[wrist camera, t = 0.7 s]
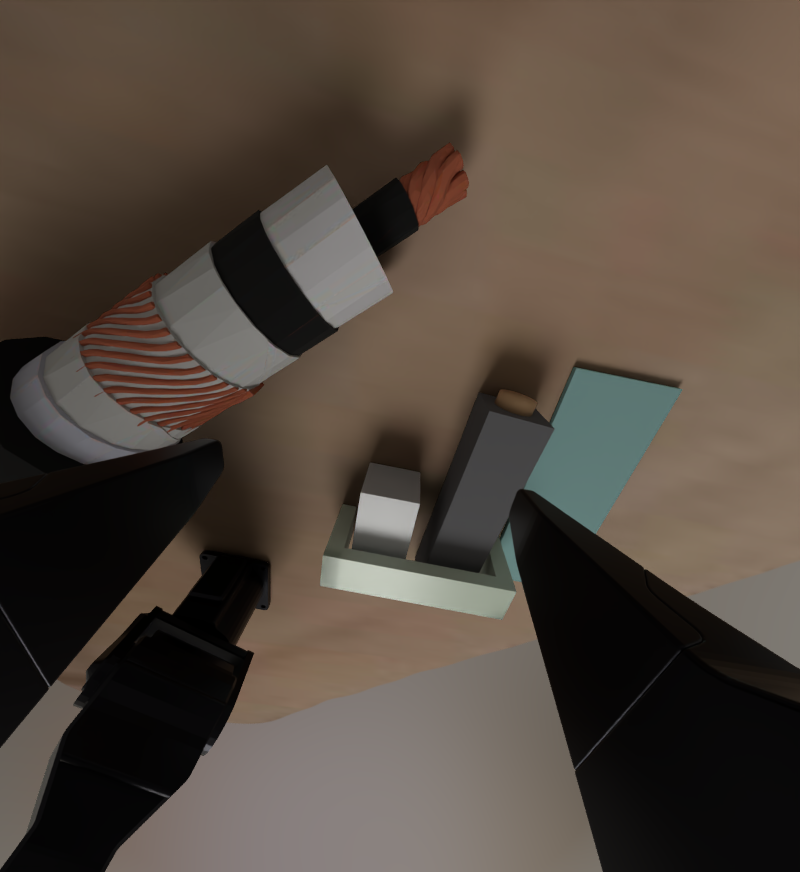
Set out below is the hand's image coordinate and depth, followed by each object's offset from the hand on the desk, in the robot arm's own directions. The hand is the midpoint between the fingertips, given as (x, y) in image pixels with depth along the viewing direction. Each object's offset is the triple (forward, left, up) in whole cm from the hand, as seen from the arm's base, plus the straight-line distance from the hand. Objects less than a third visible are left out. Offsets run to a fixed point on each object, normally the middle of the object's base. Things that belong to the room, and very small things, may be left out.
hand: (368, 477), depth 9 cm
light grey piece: (-13, -4, -13) cm, 19 cm away
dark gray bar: (-8, -7, -13) cm, 17 cm away
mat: (-7, -15, -13) cm, 21 cm away
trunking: (-12, -1, -13) cm, 17 cm away
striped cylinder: (0, +12, -13) cm, 18 cm away
